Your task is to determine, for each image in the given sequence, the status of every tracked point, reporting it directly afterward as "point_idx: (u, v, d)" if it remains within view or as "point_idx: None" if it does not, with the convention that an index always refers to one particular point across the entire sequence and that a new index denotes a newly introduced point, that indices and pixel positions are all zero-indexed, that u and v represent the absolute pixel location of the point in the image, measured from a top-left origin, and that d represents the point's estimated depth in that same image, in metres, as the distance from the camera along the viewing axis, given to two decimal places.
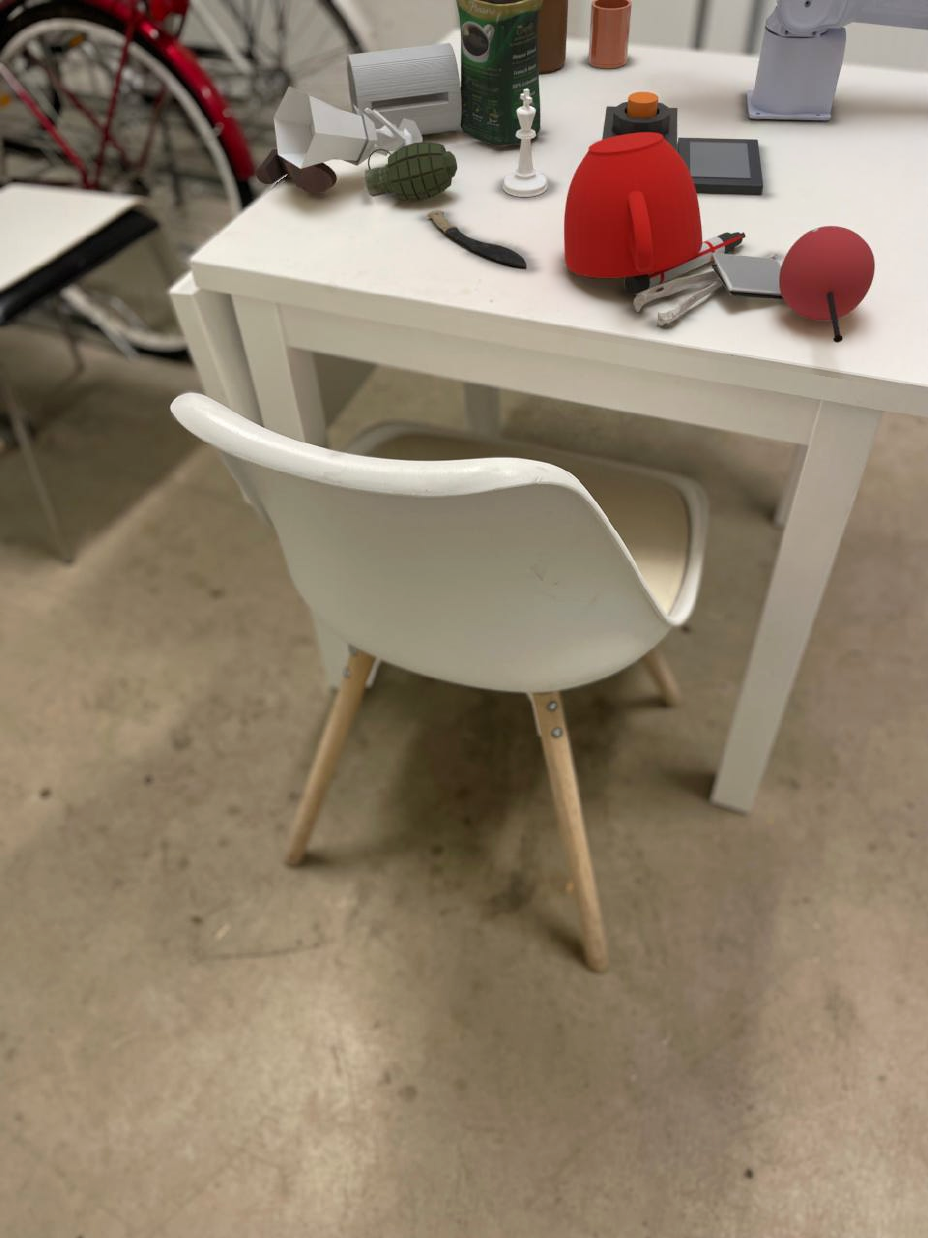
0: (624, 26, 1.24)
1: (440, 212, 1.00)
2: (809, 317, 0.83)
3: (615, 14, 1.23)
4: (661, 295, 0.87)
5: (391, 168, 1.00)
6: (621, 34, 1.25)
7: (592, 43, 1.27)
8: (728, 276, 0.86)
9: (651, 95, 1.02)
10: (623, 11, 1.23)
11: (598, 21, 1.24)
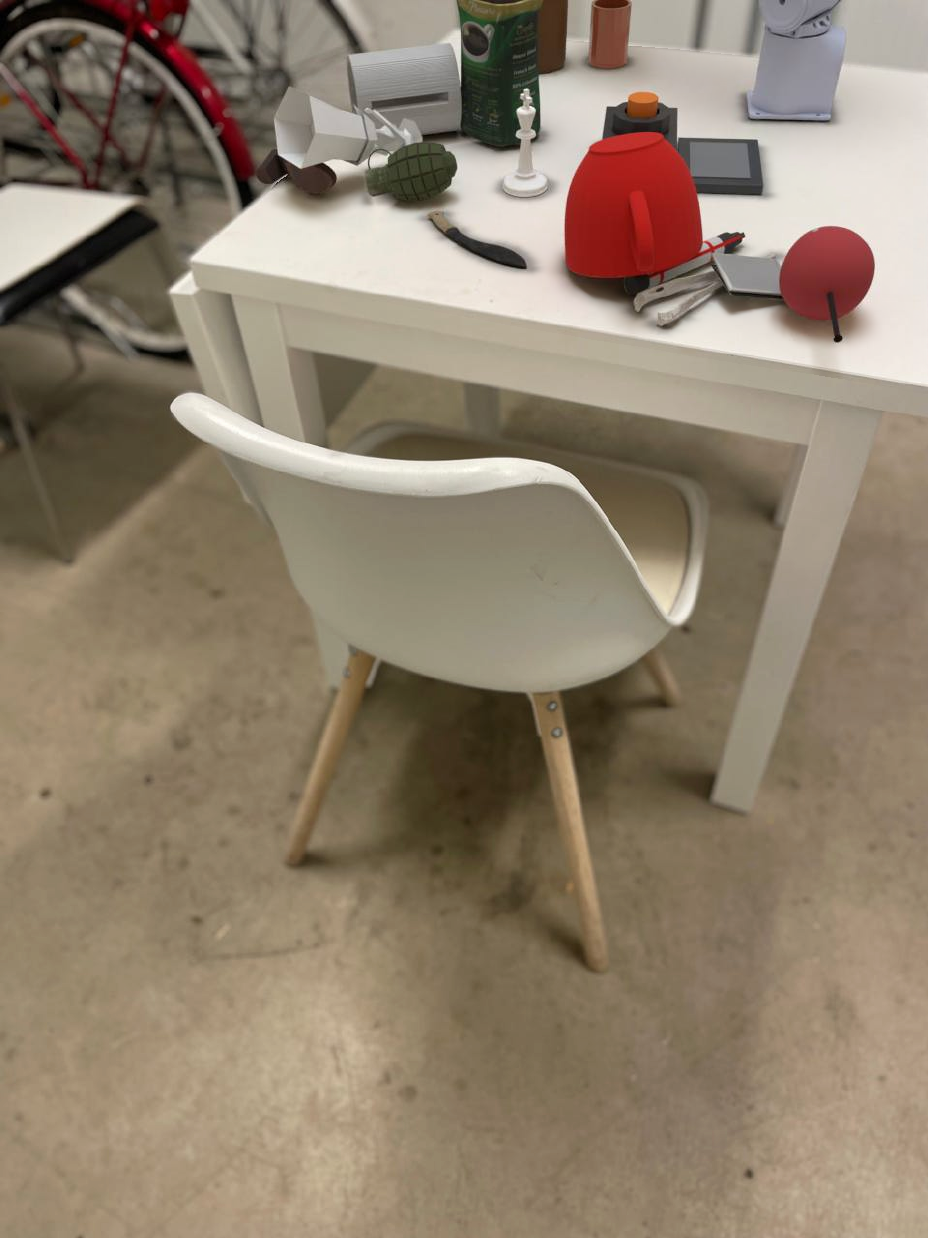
0: (624, 26, 1.24)
1: (440, 212, 1.00)
2: (809, 317, 0.83)
3: (615, 14, 1.23)
4: (661, 295, 0.87)
5: (391, 168, 1.00)
6: (621, 34, 1.25)
7: (592, 43, 1.27)
8: (728, 276, 0.86)
9: (651, 95, 1.02)
10: (623, 11, 1.23)
11: (598, 21, 1.24)
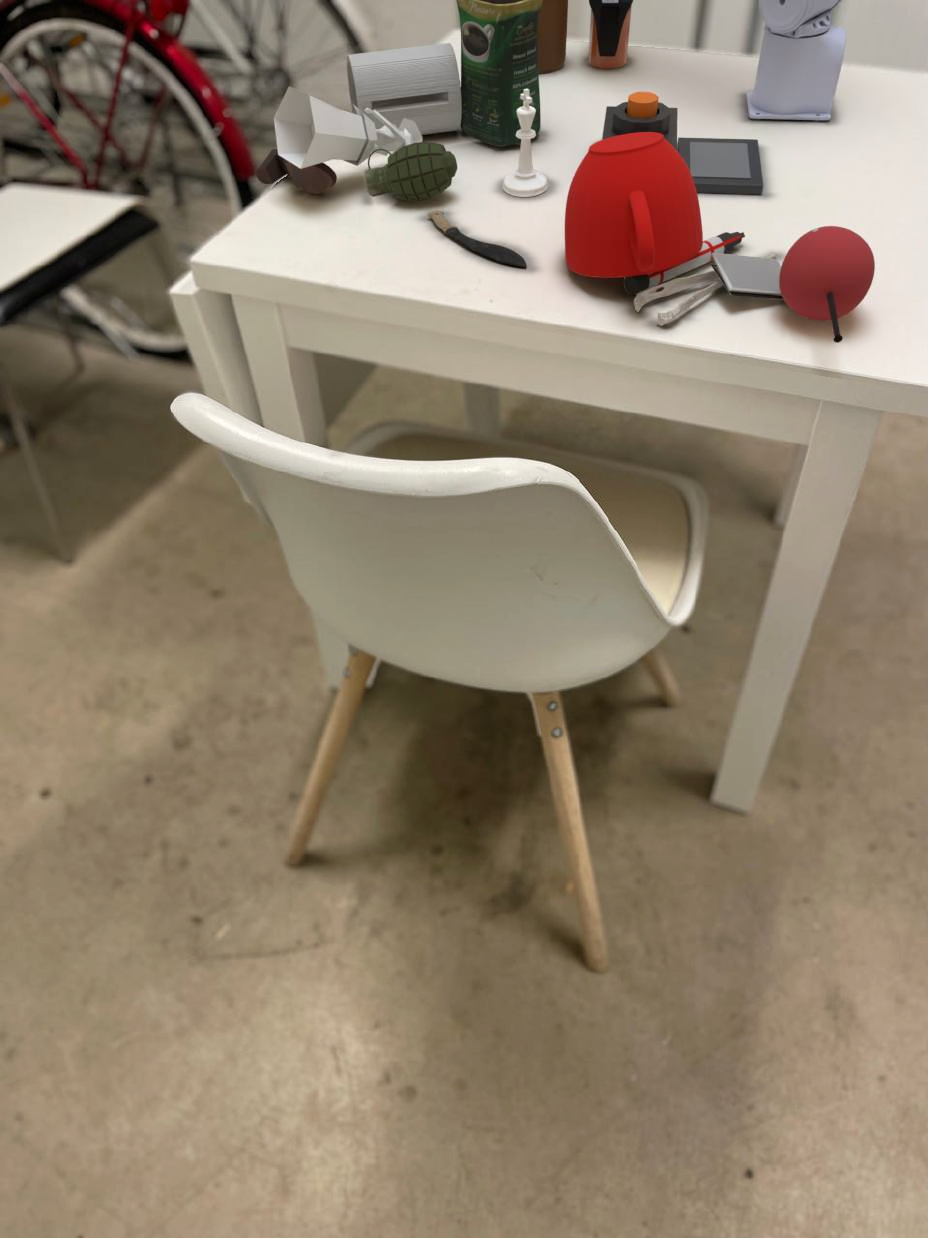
0: (624, 26, 1.24)
1: (440, 212, 1.00)
2: (809, 317, 0.83)
3: None
4: (661, 295, 0.87)
5: (391, 168, 1.00)
6: None
7: (592, 43, 1.27)
8: (728, 276, 0.86)
9: (651, 95, 1.02)
10: None
11: None
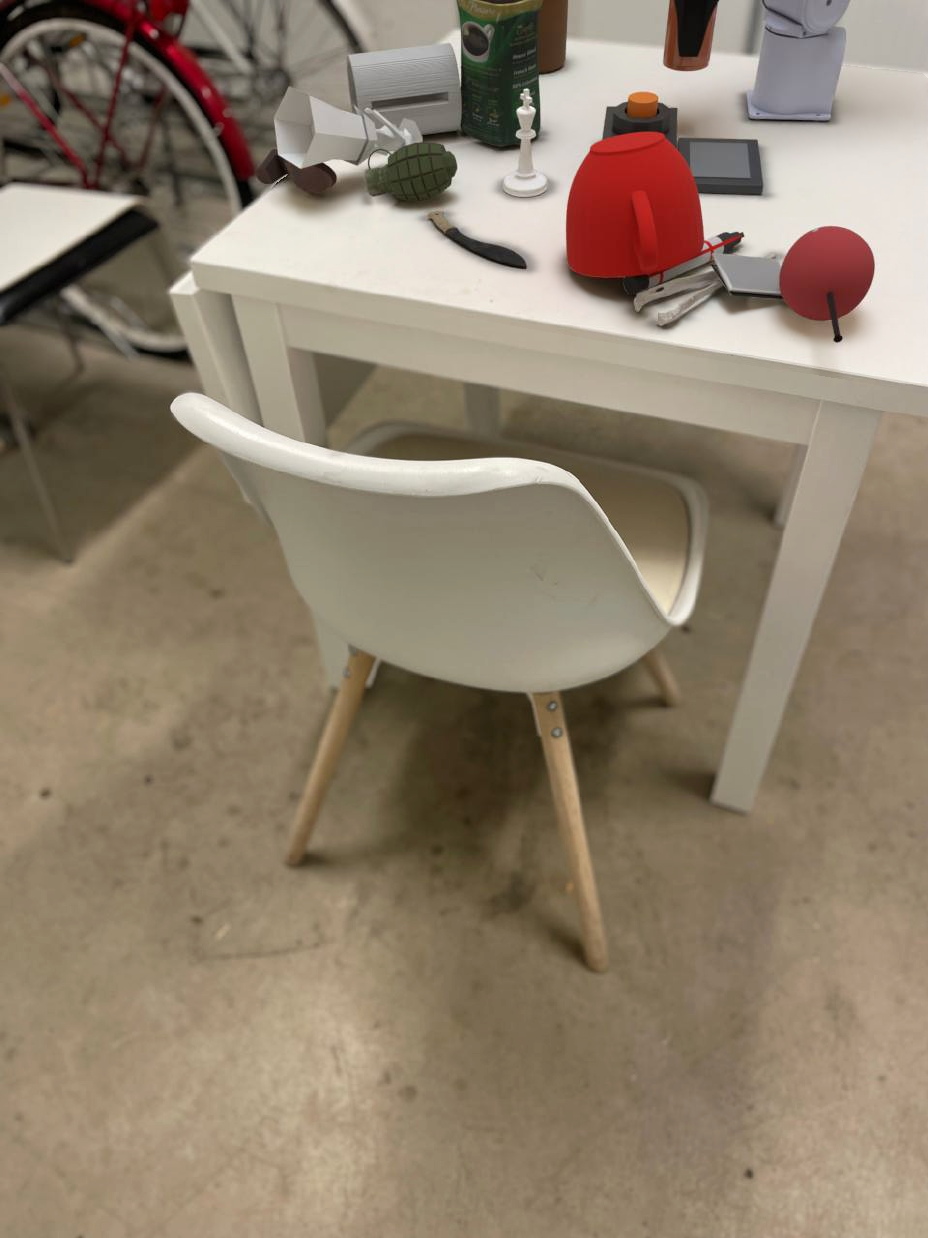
0: None
1: (440, 212, 1.00)
2: (809, 317, 0.83)
3: None
4: (661, 295, 0.87)
5: (391, 168, 1.00)
6: None
7: (669, 41, 1.06)
8: (728, 276, 0.86)
9: (651, 95, 1.02)
10: None
11: None
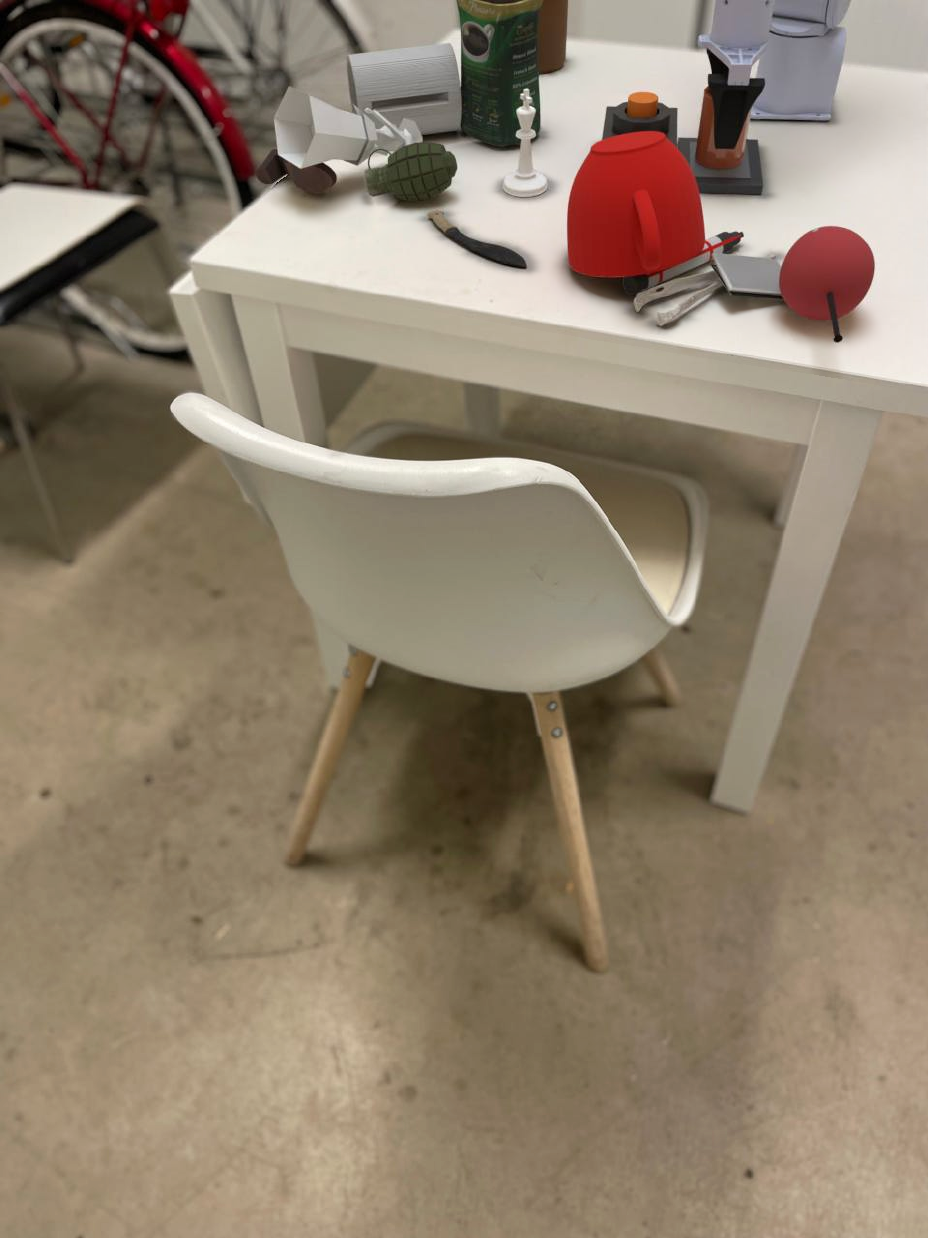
0: None
1: (440, 212, 1.00)
2: (809, 317, 0.83)
3: None
4: (661, 295, 0.87)
5: (391, 168, 1.00)
6: None
7: (702, 139, 1.03)
8: (728, 276, 0.86)
9: (651, 95, 1.02)
10: None
11: (712, 114, 1.00)
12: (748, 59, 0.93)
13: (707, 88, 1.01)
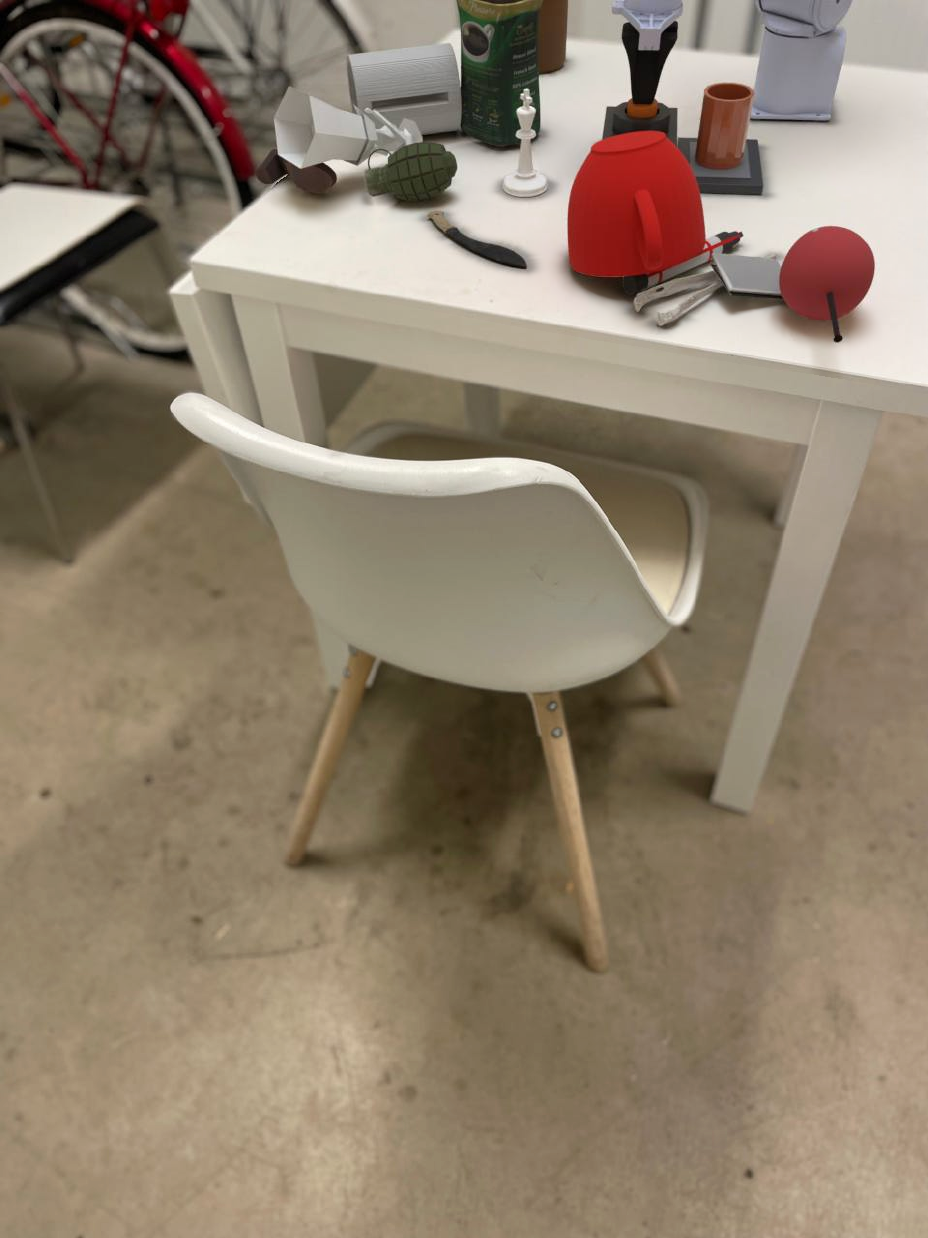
0: (744, 120, 1.00)
1: (440, 212, 1.00)
2: (809, 317, 0.83)
3: (735, 106, 0.99)
4: (661, 295, 0.87)
5: (391, 168, 1.00)
6: (739, 130, 1.01)
7: (702, 139, 1.03)
8: (728, 276, 0.86)
9: None
10: (745, 103, 0.99)
11: (712, 114, 1.00)
12: (659, 24, 0.92)
13: (707, 88, 1.01)
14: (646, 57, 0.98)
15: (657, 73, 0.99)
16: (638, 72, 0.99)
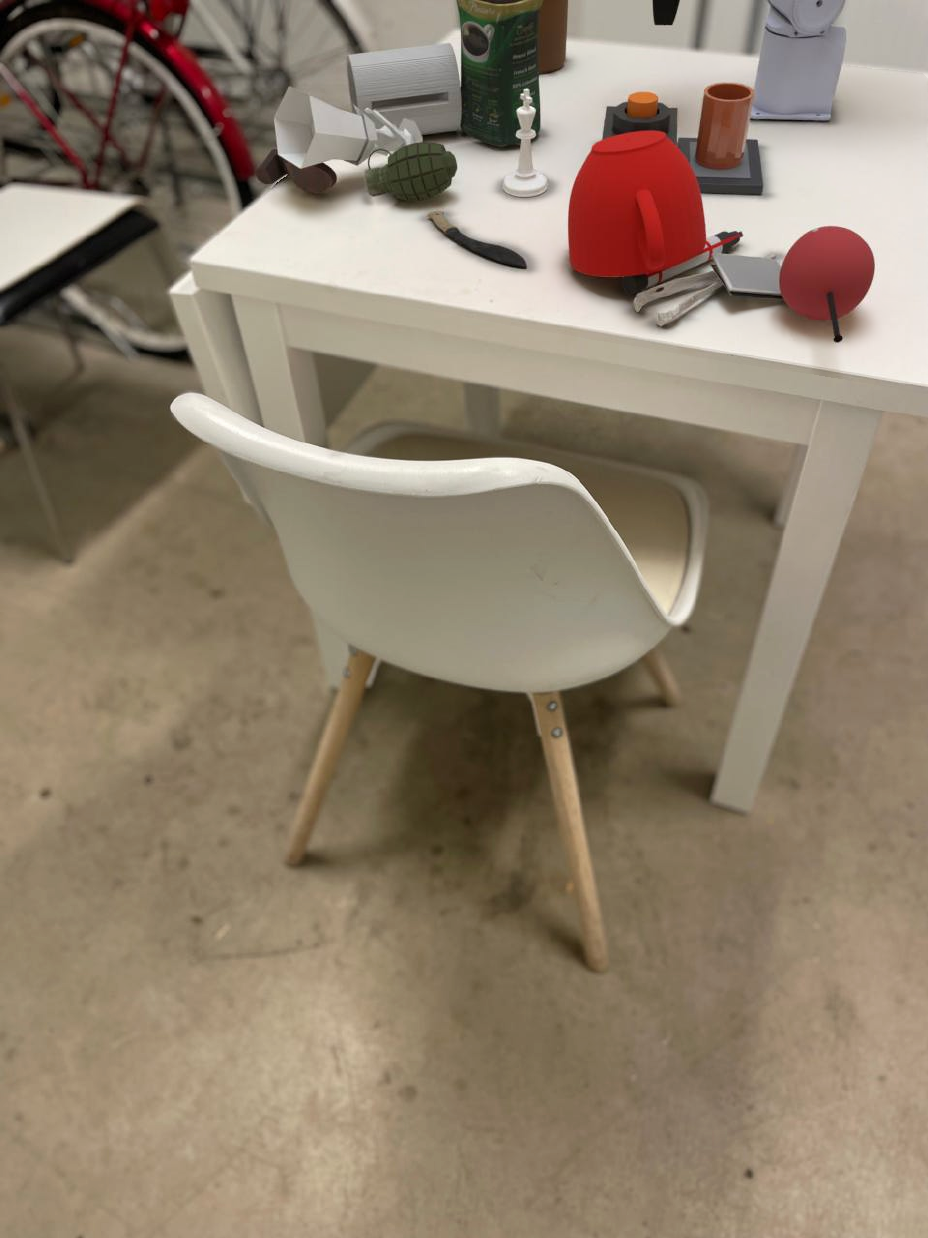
0: (744, 120, 1.00)
1: (440, 212, 1.00)
2: (809, 317, 0.83)
3: (735, 106, 0.99)
4: (661, 295, 0.87)
5: (391, 168, 1.00)
6: (739, 130, 1.01)
7: (702, 139, 1.03)
8: (728, 276, 0.86)
9: (651, 95, 1.02)
10: (745, 103, 0.99)
11: (712, 114, 1.00)
12: None
13: (707, 88, 1.01)
14: None
15: None
16: None
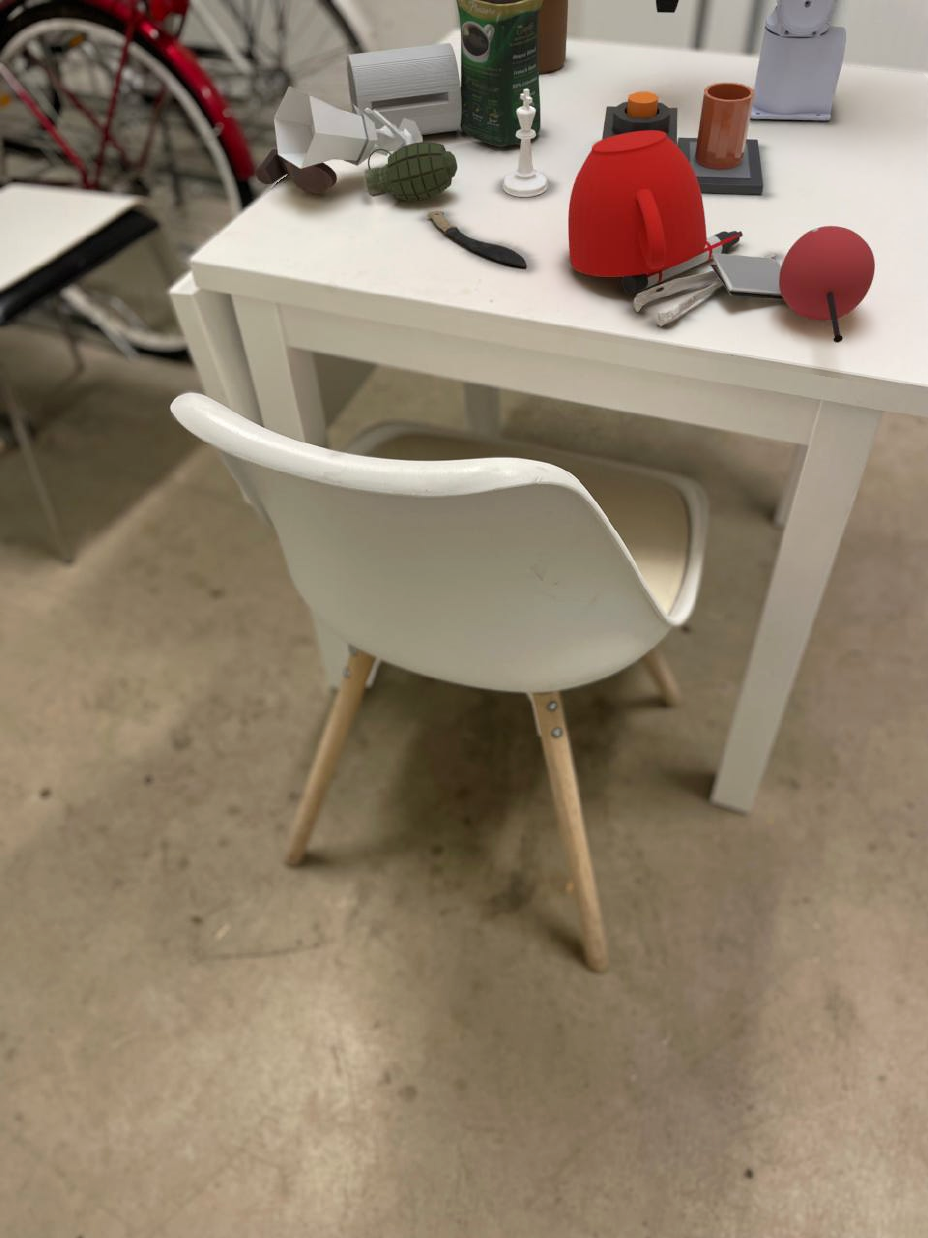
0: (744, 120, 1.00)
1: (440, 212, 1.00)
2: (809, 317, 0.83)
3: (735, 106, 0.99)
4: (661, 295, 0.87)
5: (391, 168, 1.00)
6: (739, 130, 1.01)
7: (702, 139, 1.03)
8: (728, 276, 0.86)
9: (651, 95, 1.02)
10: (745, 103, 0.99)
11: (712, 114, 1.00)
12: None
13: (707, 88, 1.01)
14: None
15: None
16: None
